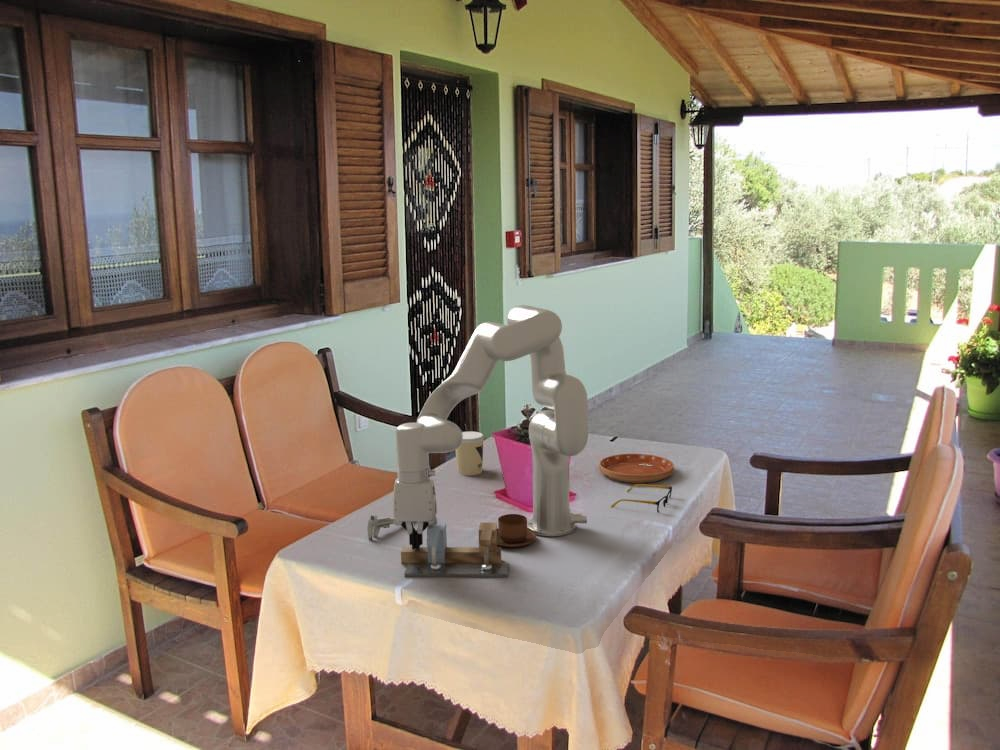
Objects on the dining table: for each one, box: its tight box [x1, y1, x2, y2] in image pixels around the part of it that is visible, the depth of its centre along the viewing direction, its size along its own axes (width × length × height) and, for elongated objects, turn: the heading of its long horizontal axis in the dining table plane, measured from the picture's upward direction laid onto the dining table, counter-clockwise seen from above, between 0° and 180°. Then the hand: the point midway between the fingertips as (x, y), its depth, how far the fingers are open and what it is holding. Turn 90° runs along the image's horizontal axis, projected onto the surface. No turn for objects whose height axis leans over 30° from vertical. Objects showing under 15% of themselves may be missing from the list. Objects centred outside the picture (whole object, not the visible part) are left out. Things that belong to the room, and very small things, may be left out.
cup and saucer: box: [497, 513, 537, 548], centre depth 235 cm, size 12×12×6 cm
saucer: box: [598, 453, 675, 484], centre depth 287 cm, size 23×23×4 cm
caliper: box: [367, 514, 394, 540], centre depth 246 cm, size 21×1×6 cm, turn 142°
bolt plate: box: [403, 563, 510, 578], centre depth 218 cm, size 24×6×2 cm, turn 87°
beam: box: [400, 522, 502, 565], centre depth 220 cm, size 24×11×9 cm, turn 87°
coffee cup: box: [455, 431, 485, 477], centre depth 291 cm, size 9×9×12 cm
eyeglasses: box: [610, 483, 673, 513], centre depth 262 cm, size 14×14×4 cm
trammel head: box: [426, 521, 448, 564], centre depth 221 cm, size 4×11×9 cm, turn 177°
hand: (416, 547), depth 224 cm, fingers closed
